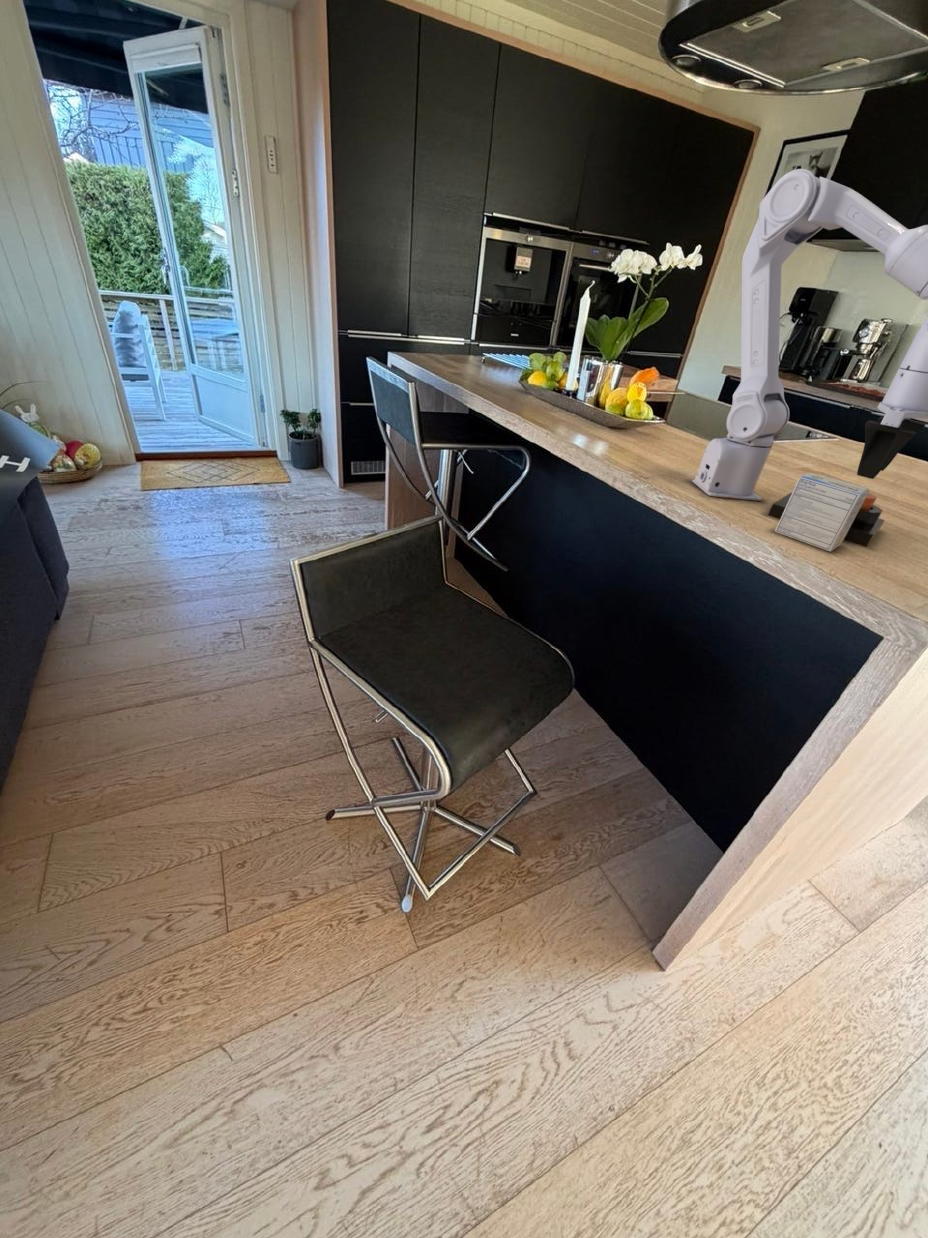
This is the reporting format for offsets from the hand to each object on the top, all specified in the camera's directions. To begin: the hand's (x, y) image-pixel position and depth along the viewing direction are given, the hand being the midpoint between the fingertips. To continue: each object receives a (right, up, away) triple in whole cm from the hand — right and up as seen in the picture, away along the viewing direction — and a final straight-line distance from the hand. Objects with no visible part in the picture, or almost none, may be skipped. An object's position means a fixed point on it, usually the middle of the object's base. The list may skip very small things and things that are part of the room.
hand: (870, 472), depth 76 cm
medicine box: (-10, -10, 0) cm, 14 cm away
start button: (+1, -4, +4) cm, 6 cm away
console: (-2, -6, +7) cm, 9 cm away
